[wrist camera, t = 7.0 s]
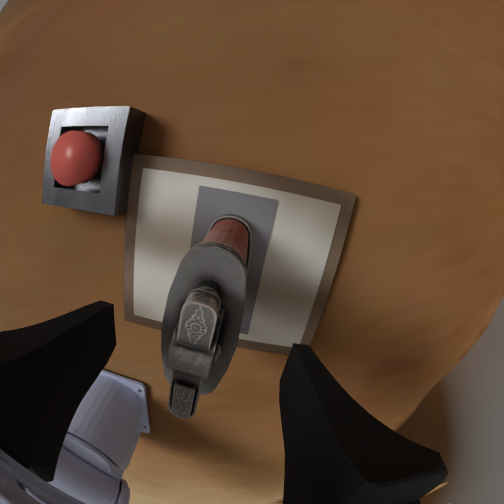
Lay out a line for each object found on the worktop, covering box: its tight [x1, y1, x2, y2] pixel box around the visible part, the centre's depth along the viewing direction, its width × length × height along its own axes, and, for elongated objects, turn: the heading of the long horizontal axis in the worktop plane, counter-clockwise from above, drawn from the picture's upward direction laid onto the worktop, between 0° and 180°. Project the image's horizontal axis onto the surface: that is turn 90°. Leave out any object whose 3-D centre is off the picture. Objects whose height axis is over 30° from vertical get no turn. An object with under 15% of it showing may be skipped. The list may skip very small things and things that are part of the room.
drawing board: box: [124, 154, 356, 355], centre depth 19 cm, size 13×15×1 cm
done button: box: [50, 131, 103, 186], centre depth 14 cm, size 4×4×2 cm
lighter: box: [161, 214, 252, 419], centre depth 14 cm, size 8×3×10 cm, turn 165°
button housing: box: [42, 106, 145, 216], centre depth 16 cm, size 7×7×2 cm
